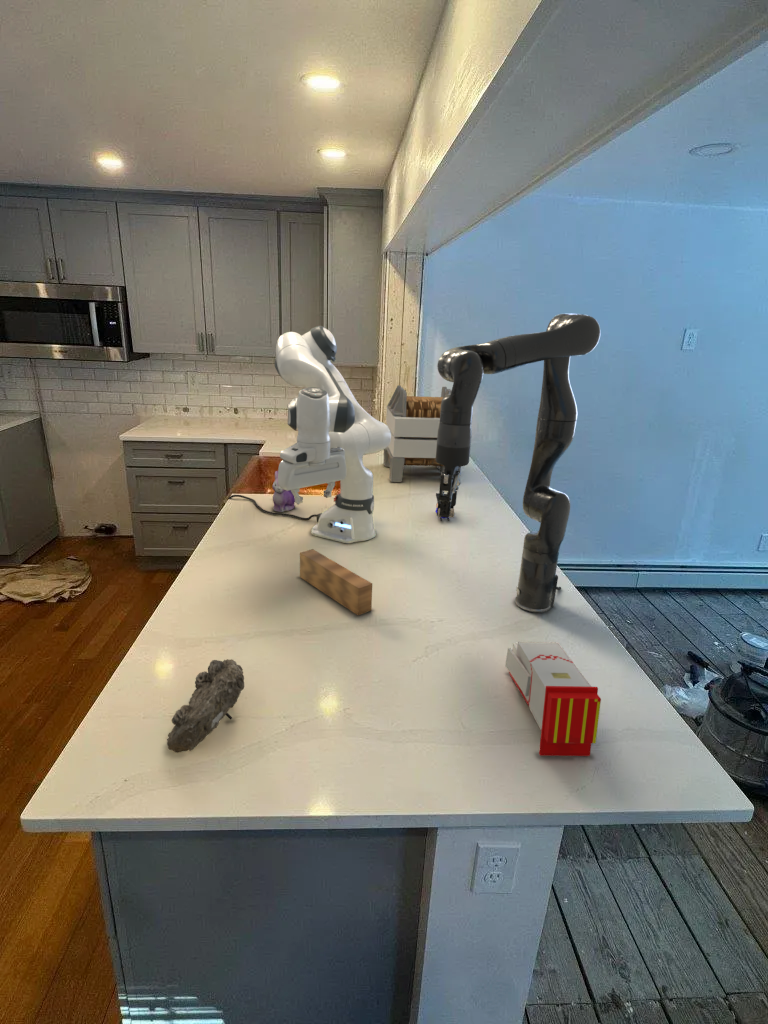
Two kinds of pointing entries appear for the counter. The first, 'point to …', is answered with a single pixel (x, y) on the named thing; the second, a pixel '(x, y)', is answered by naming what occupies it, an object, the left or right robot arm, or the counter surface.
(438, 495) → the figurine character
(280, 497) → the figurine
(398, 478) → the legged crate with fins
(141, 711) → the counter surface
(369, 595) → the bar
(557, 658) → the toy
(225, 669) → the fossil
